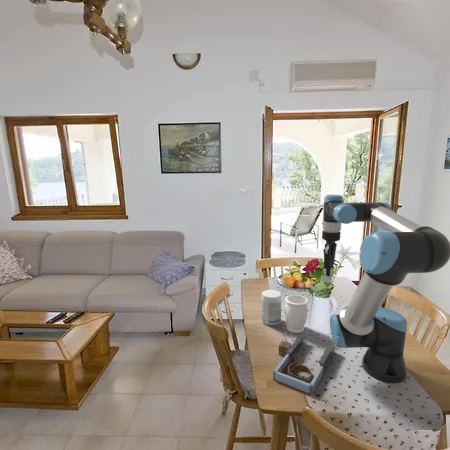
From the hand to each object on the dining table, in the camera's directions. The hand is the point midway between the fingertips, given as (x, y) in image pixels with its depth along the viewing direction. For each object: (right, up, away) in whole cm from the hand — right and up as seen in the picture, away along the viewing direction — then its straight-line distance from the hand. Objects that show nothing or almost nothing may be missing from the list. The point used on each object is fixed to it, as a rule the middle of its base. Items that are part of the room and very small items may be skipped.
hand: (328, 281), depth 142 cm
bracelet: (-19, -31, -24) cm, 43 cm away
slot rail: (-11, -28, -13) cm, 33 cm away
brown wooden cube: (-21, -27, -11) cm, 36 cm away
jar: (-13, -24, +8) cm, 28 cm away
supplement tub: (-23, -22, +15) cm, 35 cm away
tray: (-19, -30, -25) cm, 44 cm away
